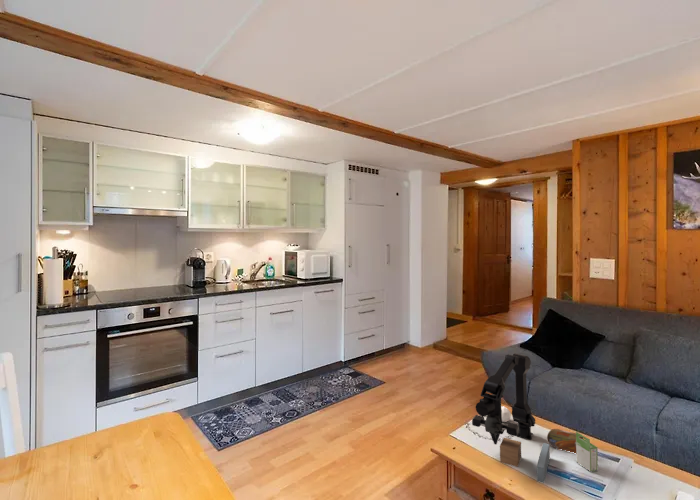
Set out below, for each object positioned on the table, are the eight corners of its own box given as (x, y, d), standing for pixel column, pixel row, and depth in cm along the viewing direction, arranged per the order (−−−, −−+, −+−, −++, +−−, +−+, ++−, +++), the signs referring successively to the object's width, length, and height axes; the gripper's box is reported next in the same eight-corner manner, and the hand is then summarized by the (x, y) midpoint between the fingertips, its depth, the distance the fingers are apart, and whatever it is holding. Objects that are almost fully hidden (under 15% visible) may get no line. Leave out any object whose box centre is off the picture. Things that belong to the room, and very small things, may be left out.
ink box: (598, 471, 148) (597, 438, 148) (590, 472, 147) (589, 439, 147) (584, 461, 154) (583, 430, 154) (576, 462, 154) (575, 431, 154)
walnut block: (504, 453, 162) (503, 437, 162) (521, 457, 158) (520, 441, 158) (500, 461, 156) (499, 445, 156) (517, 467, 152) (517, 450, 152)
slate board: (543, 456, 159) (543, 442, 159) (549, 458, 157) (549, 444, 157) (537, 481, 142) (536, 465, 142) (543, 483, 141) (543, 467, 141)
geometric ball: (499, 424, 194) (493, 408, 198) (514, 421, 191) (508, 405, 196) (496, 422, 188) (491, 406, 193) (512, 419, 185) (506, 403, 190)
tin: (547, 446, 167) (546, 428, 167) (548, 443, 169) (547, 425, 169) (586, 457, 157) (585, 437, 157) (586, 453, 160) (586, 434, 160)
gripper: (467, 411, 159) (468, 446, 159) (513, 421, 149) (514, 459, 149) (475, 402, 169) (476, 435, 169) (518, 411, 158) (519, 446, 158)
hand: (495, 444), depth 161 cm, fingers closed
